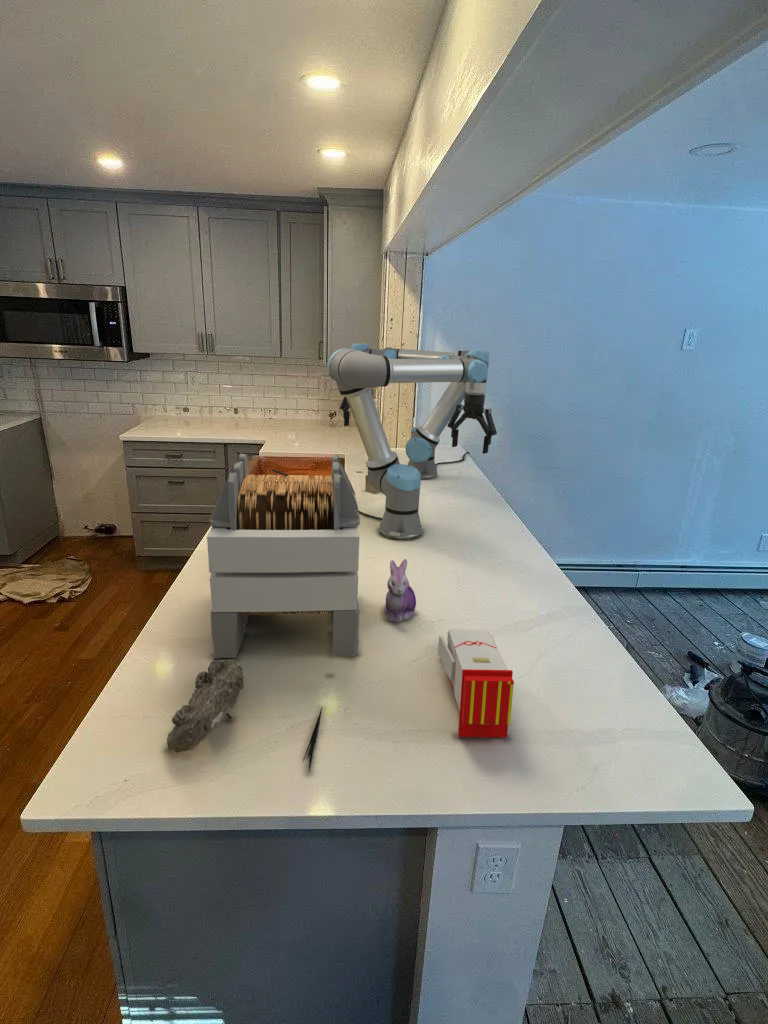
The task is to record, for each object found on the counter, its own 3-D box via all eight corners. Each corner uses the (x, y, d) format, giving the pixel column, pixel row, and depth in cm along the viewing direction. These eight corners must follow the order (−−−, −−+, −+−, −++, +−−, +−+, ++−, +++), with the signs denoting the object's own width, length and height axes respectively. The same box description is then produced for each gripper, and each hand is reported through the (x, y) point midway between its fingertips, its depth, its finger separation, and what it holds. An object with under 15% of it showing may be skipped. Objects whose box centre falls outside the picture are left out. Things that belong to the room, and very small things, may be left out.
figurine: (392, 627, 141) (395, 572, 136) (374, 608, 149) (376, 556, 144) (425, 619, 145) (429, 566, 140) (405, 601, 154) (408, 550, 149)
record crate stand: (232, 588, 156) (224, 444, 142) (351, 587, 160) (354, 446, 146) (210, 660, 125) (198, 483, 111) (359, 656, 128) (364, 485, 115)
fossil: (192, 660, 117) (244, 628, 112) (224, 691, 120) (276, 661, 115) (142, 746, 98) (202, 712, 93) (182, 779, 101) (242, 748, 96)
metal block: (365, 490, 245) (365, 475, 243) (374, 488, 249) (374, 472, 247) (374, 493, 242) (375, 477, 239) (383, 490, 246) (384, 475, 244)
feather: (331, 679, 122) (336, 673, 122) (307, 777, 96) (313, 769, 95) (324, 675, 122) (329, 669, 121) (298, 772, 95) (304, 764, 95)
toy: (488, 613, 130) (523, 677, 101) (484, 667, 133) (517, 744, 104) (435, 612, 130) (455, 676, 101) (432, 666, 133) (451, 743, 103)
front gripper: (441, 390, 214) (437, 445, 221) (500, 398, 199) (493, 457, 206) (452, 388, 219) (447, 442, 227) (510, 396, 205) (503, 454, 212)
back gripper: (332, 377, 253) (331, 424, 260) (376, 383, 239) (374, 433, 246) (343, 376, 259) (342, 422, 266) (387, 382, 245) (385, 431, 252)
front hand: (469, 449), depth 216 cm, fingers open, 13 cm apart
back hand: (358, 428), depth 256 cm, fingers open, 13 cm apart
